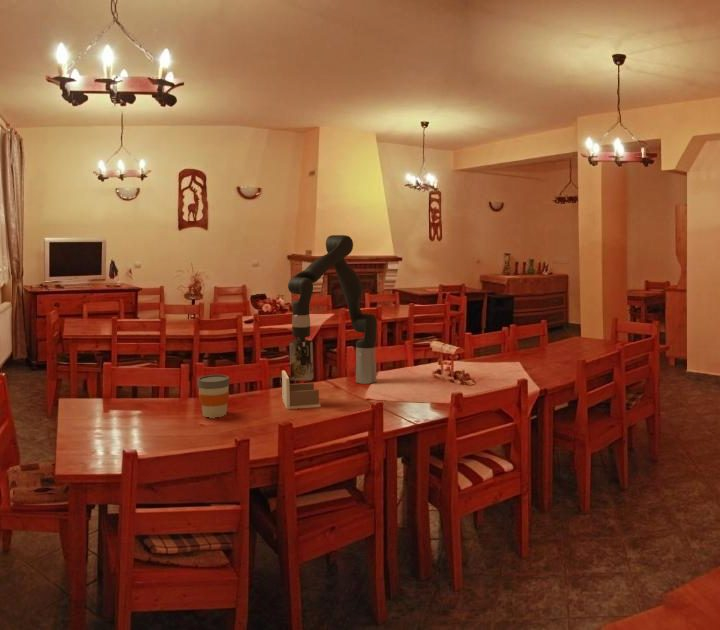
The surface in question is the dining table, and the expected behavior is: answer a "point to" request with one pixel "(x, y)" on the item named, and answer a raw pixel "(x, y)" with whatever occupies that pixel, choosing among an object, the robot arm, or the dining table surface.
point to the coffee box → (295, 368)
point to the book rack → (299, 394)
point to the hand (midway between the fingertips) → (301, 363)
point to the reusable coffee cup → (213, 395)
